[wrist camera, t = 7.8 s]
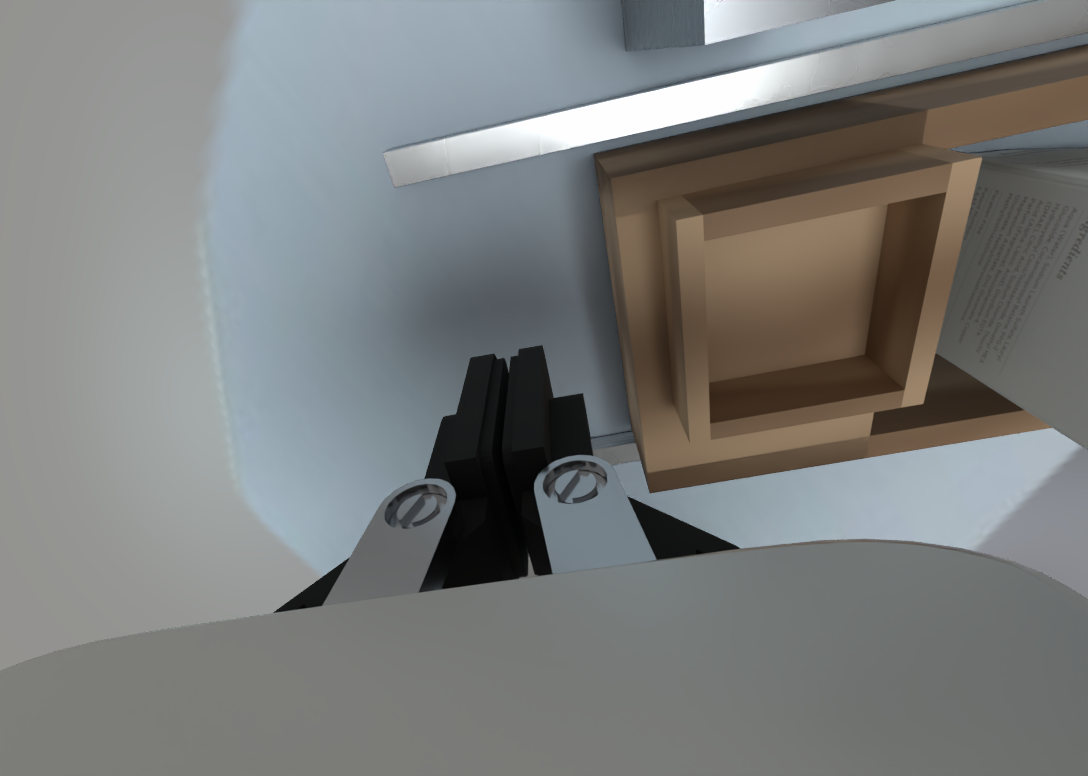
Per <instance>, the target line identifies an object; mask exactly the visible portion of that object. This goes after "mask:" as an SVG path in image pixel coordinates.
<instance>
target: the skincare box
mask: <svg viewBox="0 0 1088 776" xmlns="http://www.w3.org/2000/svg"><path fill="white" fill-rule="evenodd" d="M966 154H971V155H976V156H980V157H982V161H981V165H980V169H979V173H978V178H977V182H976V186H975V190H974V194H973V199H972V203H971V207H970V211H969V215H968V219H967V224H966V228H965V232H964V236H963V240H962V244H961V249H960V253H959V257H958V261H957V265H956V270H955V274H954V278H953V282H952V286H951V290H950V295H949V299H948V303H947V307H946V311H945V316H944V320H943V324H942V328H941V332H940V336H939V341H938V345H937V349H936V353H937V354H938V355H940V356H941V357H943V358H945V359H946V360H948V361H949V362H951V363H953V364H954V365H956V366H957V367H959V368H960V369H962V370H963V371H965V372H967V373H968V374H970V375H971V376H973V377H974V378H976V379H977V380H979V381H980V382H982V383H983V384H985V385H987V386H988V387H990V388H991V389H993V390H994V391H996V392H997V393H999V394H1000V395H1002V396H1004V397H1005V398H1007V399H1008V400H1010V401H1011V402H1013V403H1014V404H1016V405H1017V406H1019V407H1021V408H1022V409H1024V410H1025V411H1027V412H1029V413H1030V414H1032V415H1033V416H1035V417H1036V418H1038V419H1040V420H1041V421H1043V422H1044V423H1046V424H1047V425H1049V426H1051V427H1052V428H1054V429H1055V430H1057V431H1058V432H1060V433H1062V434H1063V435H1065V436H1066V437H1068V438H1070V439H1071V440H1073V441H1074V442H1076V443H1077V444H1079V445H1081V446H1082V447H1084V448H1085V449H1087V450H1088V148H1065V149H1024V150H1005V151H993V152H983V153H966Z"/></svg>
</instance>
